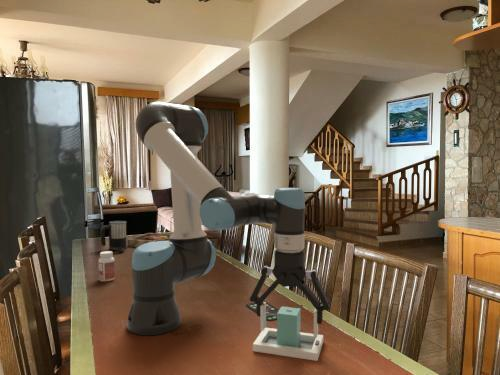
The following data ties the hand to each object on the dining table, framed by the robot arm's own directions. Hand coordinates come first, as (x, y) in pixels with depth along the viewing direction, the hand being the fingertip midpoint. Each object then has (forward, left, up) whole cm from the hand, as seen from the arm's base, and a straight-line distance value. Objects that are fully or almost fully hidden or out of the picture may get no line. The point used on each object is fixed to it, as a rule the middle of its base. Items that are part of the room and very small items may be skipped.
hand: (289, 332), depth 100 cm
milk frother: (-111, +81, -4) cm, 138 cm away
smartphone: (-12, +22, -4) cm, 25 cm away
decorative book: (-99, +101, -4) cm, 141 cm away
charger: (0, 0, -4) cm, 4 cm away
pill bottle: (-82, +34, -4) cm, 89 cm away
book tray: (-100, +102, -4) cm, 143 cm away
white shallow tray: (0, 0, -4) cm, 4 cm away
